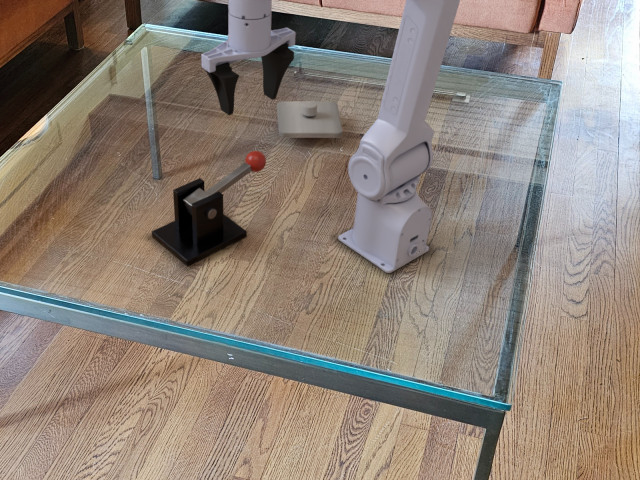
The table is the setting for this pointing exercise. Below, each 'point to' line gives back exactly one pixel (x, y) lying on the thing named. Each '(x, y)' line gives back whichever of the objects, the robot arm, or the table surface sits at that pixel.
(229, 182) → the lever
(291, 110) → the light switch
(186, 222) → the bracket
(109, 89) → the table surface
